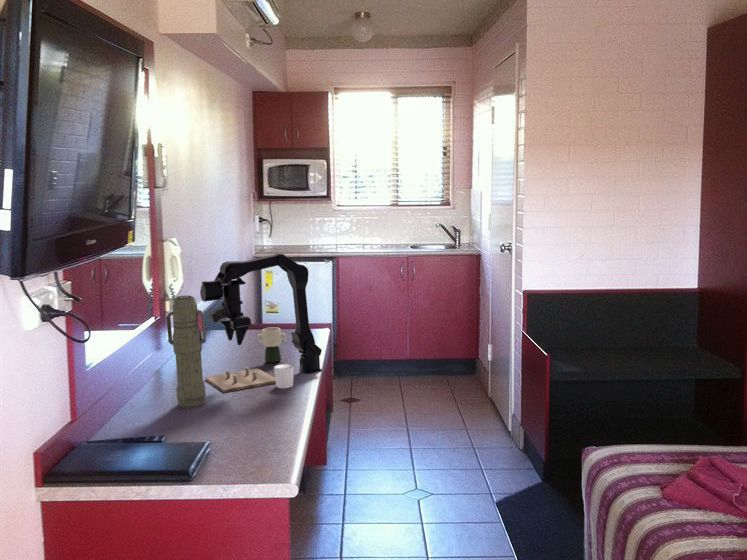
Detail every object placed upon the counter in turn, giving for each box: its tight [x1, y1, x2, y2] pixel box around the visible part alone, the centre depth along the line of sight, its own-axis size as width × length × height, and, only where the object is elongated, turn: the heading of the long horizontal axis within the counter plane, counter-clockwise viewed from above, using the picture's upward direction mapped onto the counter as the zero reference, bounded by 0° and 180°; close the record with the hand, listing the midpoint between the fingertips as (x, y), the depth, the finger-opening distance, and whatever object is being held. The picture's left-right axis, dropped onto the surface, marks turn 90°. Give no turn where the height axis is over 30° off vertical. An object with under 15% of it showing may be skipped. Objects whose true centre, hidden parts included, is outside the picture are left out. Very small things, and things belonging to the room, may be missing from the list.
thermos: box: [165, 295, 207, 409], centre depth 250 cm, size 9×12×35 cm
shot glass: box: [273, 363, 295, 389], centre depth 269 cm, size 7×7×7 cm
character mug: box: [256, 326, 287, 363], centre depth 302 cm, size 11×7×13 cm, turn 92°
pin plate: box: [204, 367, 276, 393], centre depth 277 cm, size 20×20×4 cm
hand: (234, 342), depth 272 cm, fingers open, 9 cm apart
